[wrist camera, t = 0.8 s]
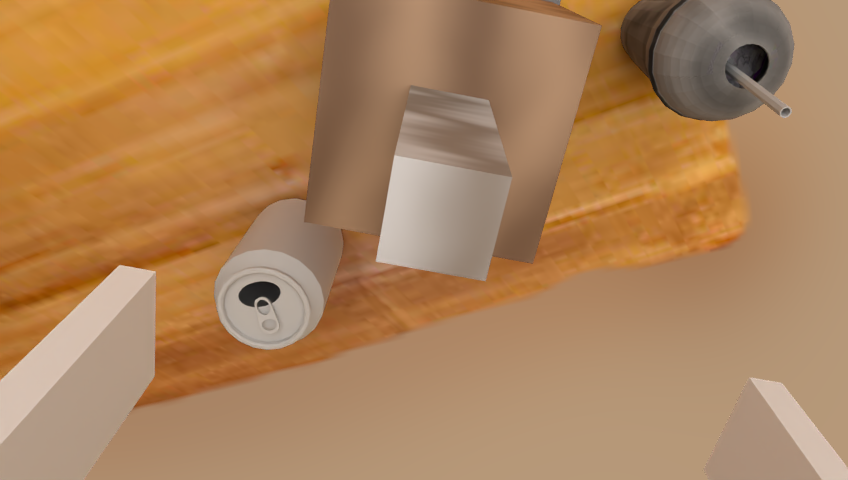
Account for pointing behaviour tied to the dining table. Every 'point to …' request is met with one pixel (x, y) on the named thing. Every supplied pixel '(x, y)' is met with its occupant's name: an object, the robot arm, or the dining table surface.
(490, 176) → the wooden block with peg
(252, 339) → the can
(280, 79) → the dining table surface
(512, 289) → the dining table surface
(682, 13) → the beverage cup
